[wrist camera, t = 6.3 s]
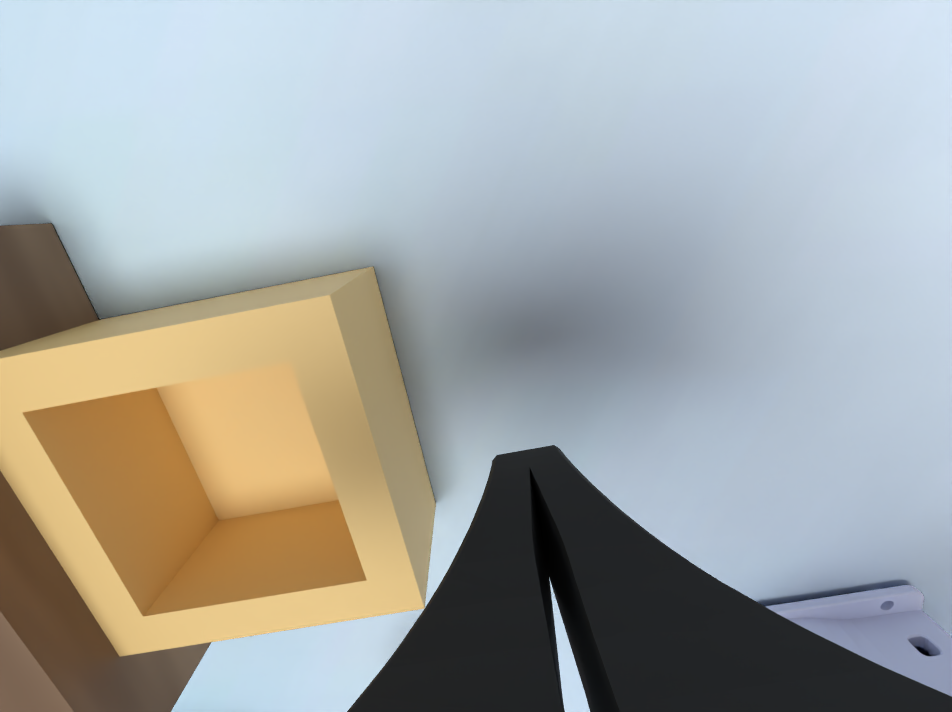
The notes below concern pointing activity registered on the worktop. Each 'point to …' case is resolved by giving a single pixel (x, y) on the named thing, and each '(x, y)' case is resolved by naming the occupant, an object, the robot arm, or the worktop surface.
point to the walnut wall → (28, 555)
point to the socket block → (224, 463)
